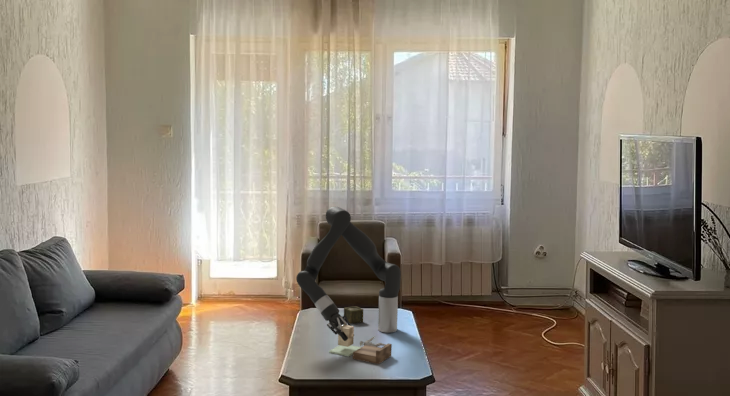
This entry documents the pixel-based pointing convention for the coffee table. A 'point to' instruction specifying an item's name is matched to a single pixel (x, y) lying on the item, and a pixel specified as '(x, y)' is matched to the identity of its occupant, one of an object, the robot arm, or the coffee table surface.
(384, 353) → the walnut ledge
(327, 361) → the coffee table surface
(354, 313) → the olive green cube
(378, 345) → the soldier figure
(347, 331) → the birch block
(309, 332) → the coffee table surface
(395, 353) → the coffee table surface
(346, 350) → the pad
